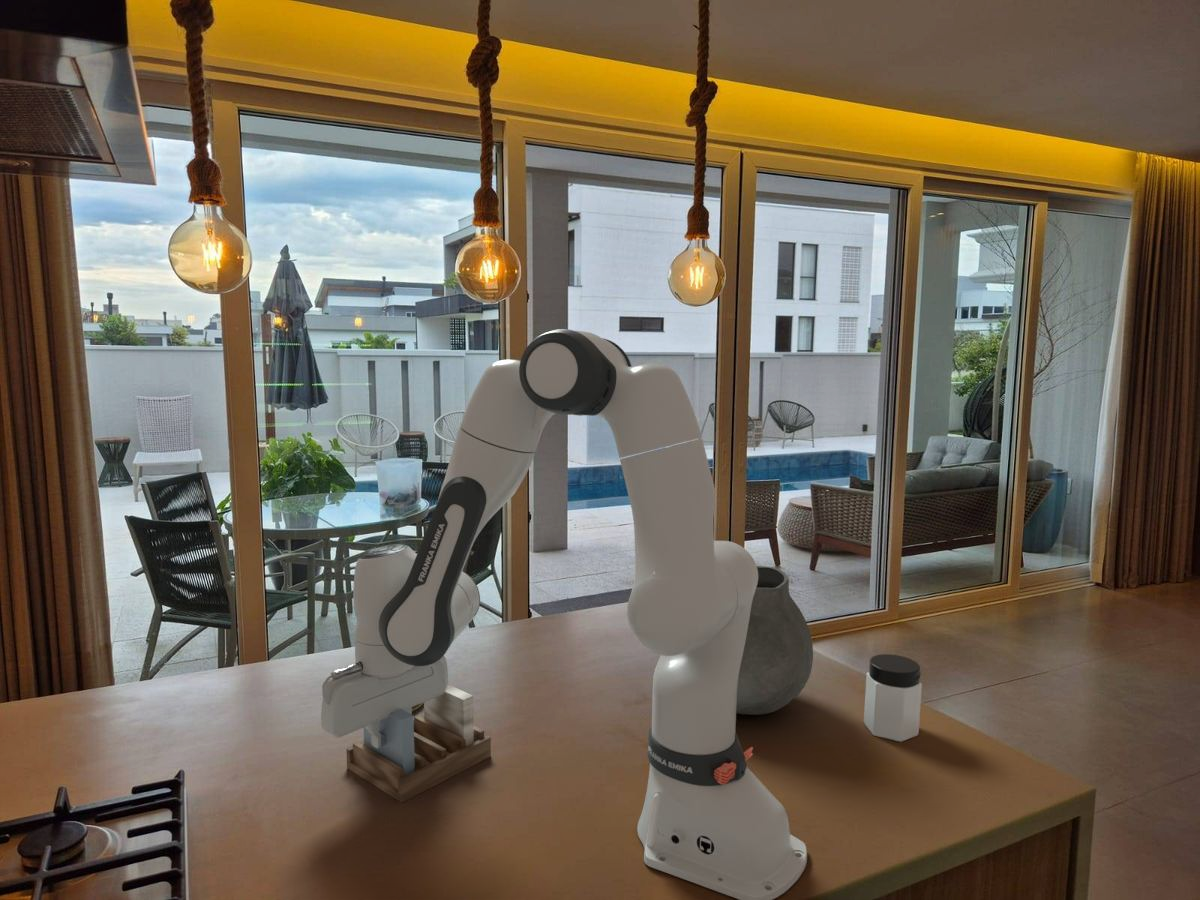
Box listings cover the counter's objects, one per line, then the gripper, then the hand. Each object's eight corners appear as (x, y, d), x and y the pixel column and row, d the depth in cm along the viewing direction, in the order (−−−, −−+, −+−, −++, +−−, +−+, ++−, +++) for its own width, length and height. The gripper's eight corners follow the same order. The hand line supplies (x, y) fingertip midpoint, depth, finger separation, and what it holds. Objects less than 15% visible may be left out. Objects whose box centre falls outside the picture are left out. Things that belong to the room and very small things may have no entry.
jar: (925, 742, 131) (930, 674, 129) (877, 742, 131) (881, 674, 129) (903, 717, 140) (907, 652, 138) (858, 717, 140) (861, 652, 138)
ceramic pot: (699, 668, 160) (702, 549, 157) (821, 691, 150) (827, 564, 146) (656, 719, 138) (659, 582, 135) (795, 751, 128) (802, 603, 124)
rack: (490, 756, 125) (490, 695, 124) (401, 802, 112) (400, 735, 111) (435, 727, 134) (434, 671, 133) (347, 768, 121) (344, 705, 120)
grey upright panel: (414, 772, 116) (413, 715, 115) (403, 778, 115) (402, 720, 113) (375, 749, 122) (373, 695, 121) (364, 754, 121) (362, 699, 120)
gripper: (334, 681, 106) (338, 777, 108) (453, 639, 122) (454, 723, 124) (310, 669, 110) (314, 761, 112) (428, 629, 126) (429, 711, 128)
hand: (388, 741), depth 118 cm, fingers closed
